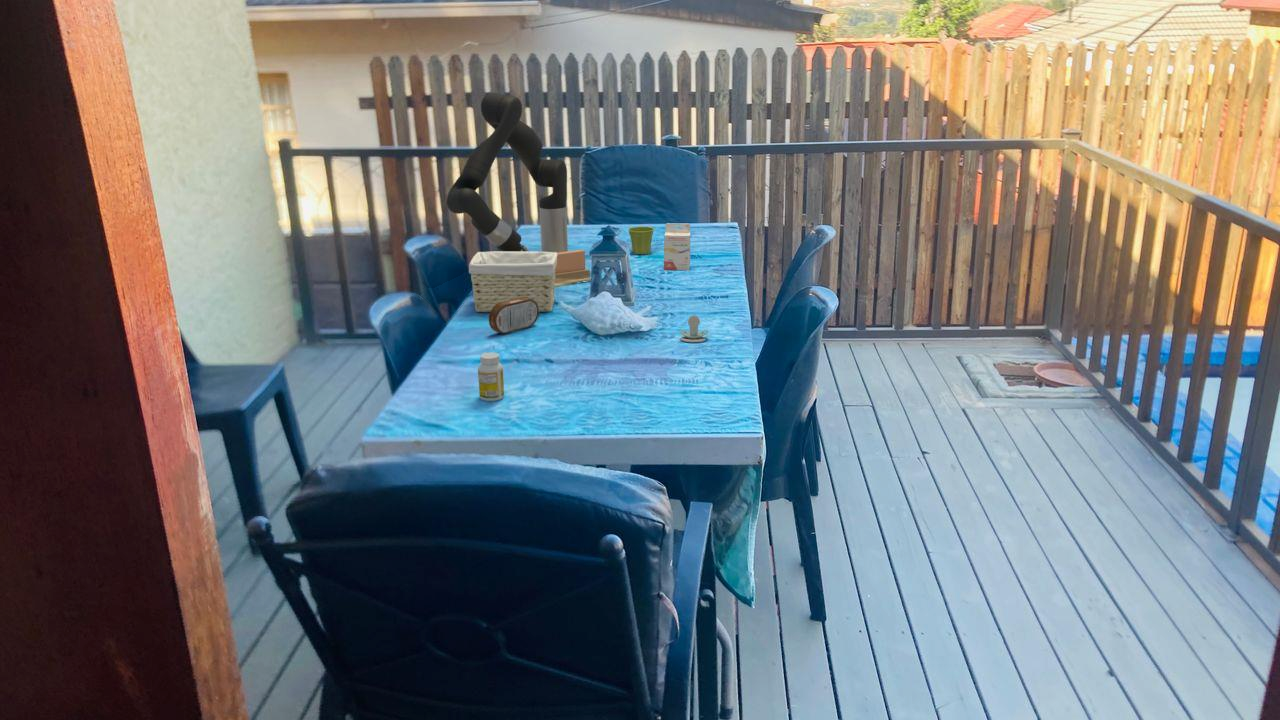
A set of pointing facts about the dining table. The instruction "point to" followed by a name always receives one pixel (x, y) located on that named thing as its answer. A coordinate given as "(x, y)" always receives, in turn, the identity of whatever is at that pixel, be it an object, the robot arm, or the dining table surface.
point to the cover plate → (570, 261)
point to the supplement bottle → (490, 377)
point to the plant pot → (641, 239)
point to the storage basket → (513, 278)
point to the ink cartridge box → (677, 247)
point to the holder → (571, 277)
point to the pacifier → (693, 331)
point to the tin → (513, 315)
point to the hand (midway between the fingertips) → (541, 270)
